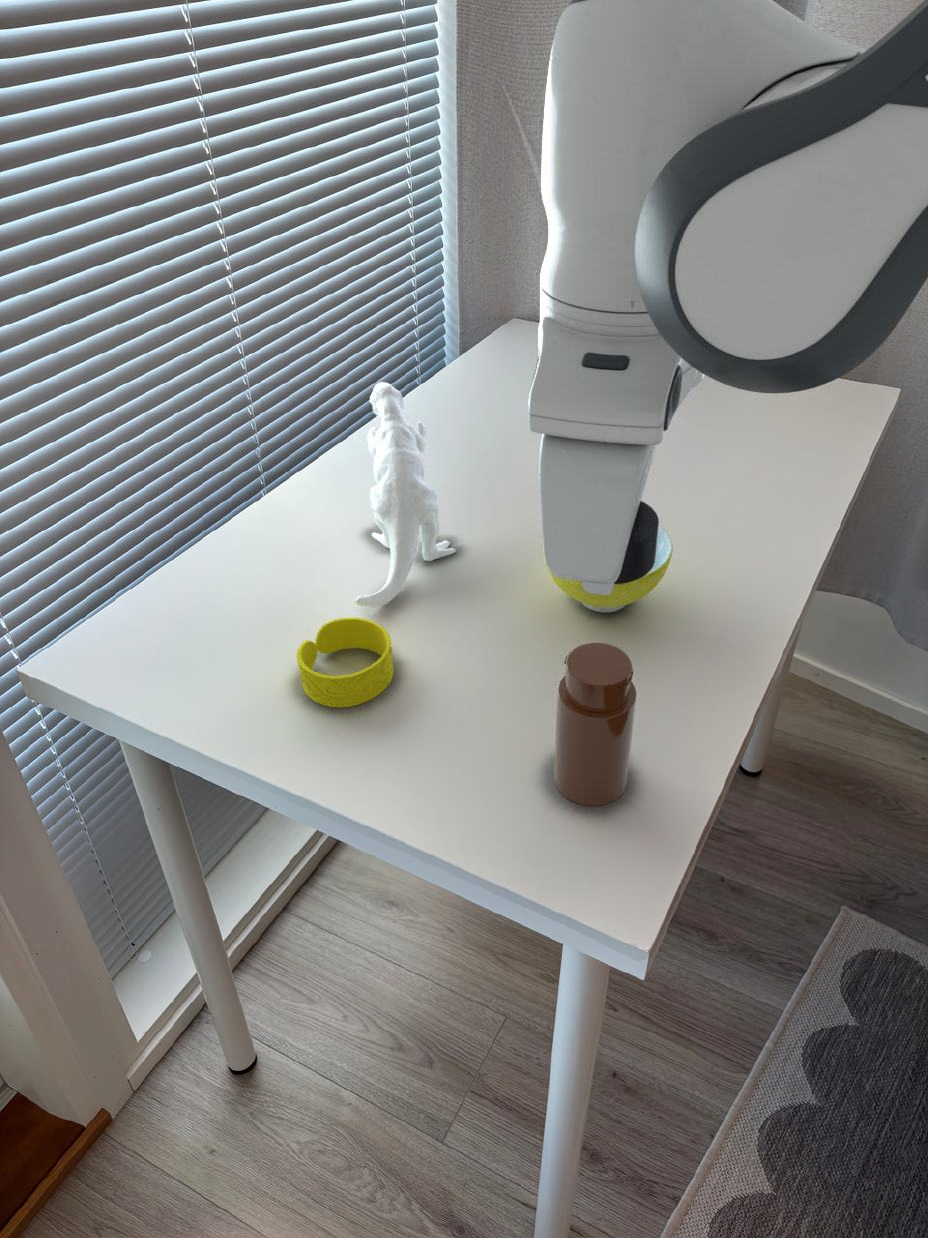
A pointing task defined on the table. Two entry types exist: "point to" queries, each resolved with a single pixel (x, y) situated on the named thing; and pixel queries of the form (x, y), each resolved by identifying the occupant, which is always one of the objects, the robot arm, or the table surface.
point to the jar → (594, 724)
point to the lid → (640, 545)
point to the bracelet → (353, 685)
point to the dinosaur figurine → (400, 493)
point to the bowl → (624, 591)
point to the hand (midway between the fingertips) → (609, 555)
